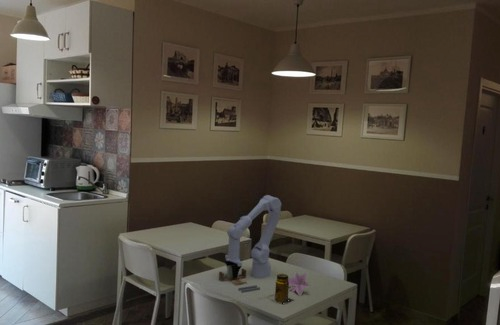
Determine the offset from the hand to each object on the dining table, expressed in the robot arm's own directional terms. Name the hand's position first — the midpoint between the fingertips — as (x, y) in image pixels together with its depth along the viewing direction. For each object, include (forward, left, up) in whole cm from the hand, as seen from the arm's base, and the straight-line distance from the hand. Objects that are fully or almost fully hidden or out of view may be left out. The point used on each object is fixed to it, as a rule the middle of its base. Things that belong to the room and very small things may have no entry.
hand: (232, 276), depth 232 cm
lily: (-23, +25, -3) cm, 34 cm away
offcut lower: (0, +7, -2) cm, 7 cm away
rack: (0, +3, -3) cm, 4 cm away
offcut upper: (0, +7, -1) cm, 7 cm away
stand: (0, +17, -3) cm, 17 cm away
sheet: (0, 0, -2) cm, 2 cm away
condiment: (-10, +31, -3) cm, 33 cm away
